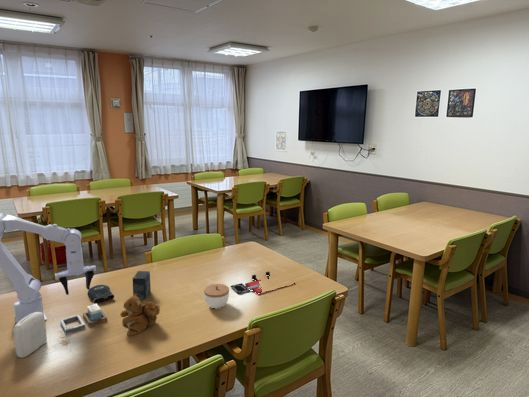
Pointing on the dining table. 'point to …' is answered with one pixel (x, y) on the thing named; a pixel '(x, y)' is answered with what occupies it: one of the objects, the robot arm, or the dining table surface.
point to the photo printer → (29, 334)
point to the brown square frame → (91, 323)
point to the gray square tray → (72, 327)
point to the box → (141, 284)
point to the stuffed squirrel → (138, 315)
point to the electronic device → (100, 293)
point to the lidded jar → (216, 295)
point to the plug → (94, 312)
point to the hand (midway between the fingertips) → (77, 291)
